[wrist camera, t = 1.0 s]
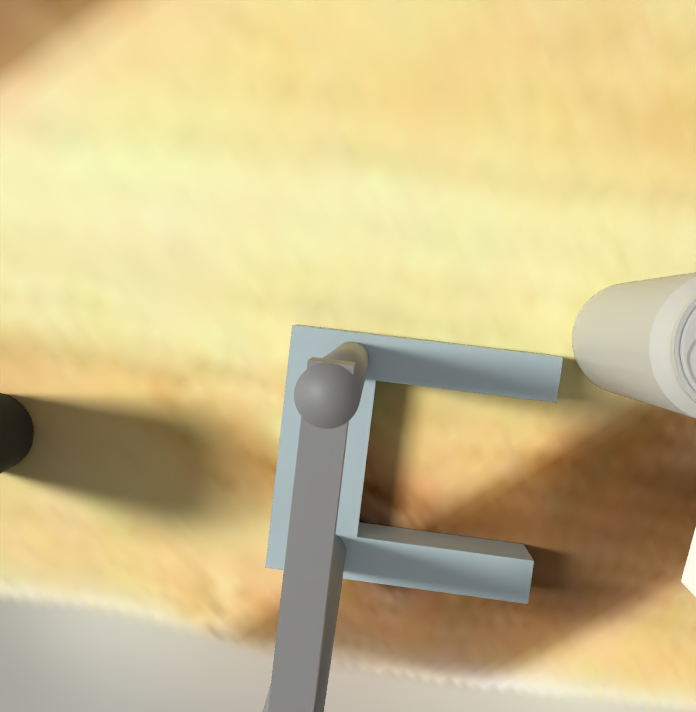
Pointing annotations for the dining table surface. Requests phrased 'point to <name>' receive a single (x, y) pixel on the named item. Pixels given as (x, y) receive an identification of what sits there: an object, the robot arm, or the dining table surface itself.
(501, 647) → the dining table surface
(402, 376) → the grey arch frame
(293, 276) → the dining table surface
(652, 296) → the beverage can
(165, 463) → the dining table surface
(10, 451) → the drinking cup
